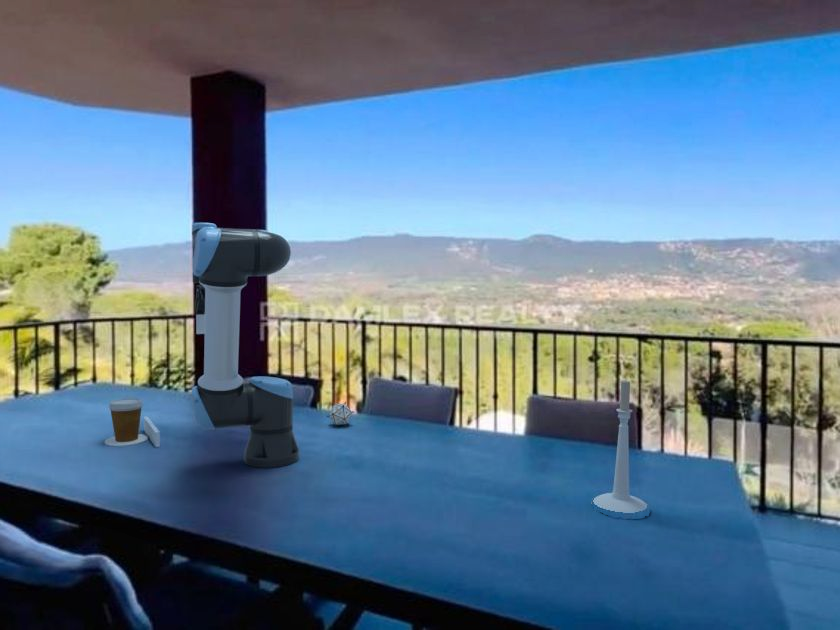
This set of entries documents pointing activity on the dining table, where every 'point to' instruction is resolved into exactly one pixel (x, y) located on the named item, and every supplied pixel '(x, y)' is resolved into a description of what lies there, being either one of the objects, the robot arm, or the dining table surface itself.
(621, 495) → the candlestick
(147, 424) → the wall
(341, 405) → the game die
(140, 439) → the coaster
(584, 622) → the dining table surface
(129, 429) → the disposable coffee cup
